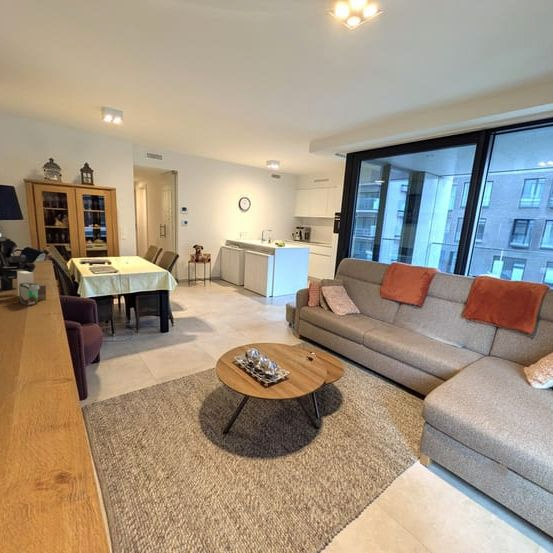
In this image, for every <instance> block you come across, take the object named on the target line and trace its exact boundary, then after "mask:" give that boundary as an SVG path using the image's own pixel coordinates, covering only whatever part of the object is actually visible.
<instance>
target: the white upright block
mask: <svg viewBox="0 0 553 553" xmlns="http://www.w3.org/2000/svg"><path fill="white" fill-rule="evenodd" d="M16 280H17V297H18V296H19V283H35V282H34V272H28V271H23V270H18V271H17V279H16Z"/></svg>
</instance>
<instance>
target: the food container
mask: <svg viewBox="0 0 553 553" xmlns="http://www.w3.org/2000/svg"><path fill="white" fill-rule="evenodd" d="M19 287H20V296H21V302H20V303H21V304H23V305H25V306H28V307H31V305H32V306H36V305H37V304H38V301H37V299H38V289H40V288H39V284H38V283H37V282H36V283H35V282H34V283H19Z"/></svg>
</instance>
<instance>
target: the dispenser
mask: <svg viewBox="0 0 553 553" xmlns="http://www.w3.org/2000/svg"><path fill="white" fill-rule="evenodd" d="M38 285H39V288H40V289H38V299H37V302H39V301H38V300H41V301H46V300H47V290H46V289H47V288H46V287H47V286H46V284H42V283H41V284H40V283H39V284H38ZM19 296H20V287H19ZM20 301H21V296H20V297H19V302H20Z"/></svg>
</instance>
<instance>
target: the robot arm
mask: <svg viewBox="0 0 553 553" xmlns="http://www.w3.org/2000/svg"><path fill="white" fill-rule="evenodd" d="M17 247H18V245H17V244H16V242H15V241H13V240H11V238H7V236H6V237H5V236H0V290H1V291H7V290H8V291H9V289H10V290H16V289H17V287H14V280H17V272H18V271H28V272H32V273H34V270H35V269H36V264H35V263H33V262H32V263H25V265H23V266H21V265H22V262H24V261H27V257H26V255H25V254H20V255H15V254H14V253H15V251H16V248H17Z"/></svg>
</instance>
